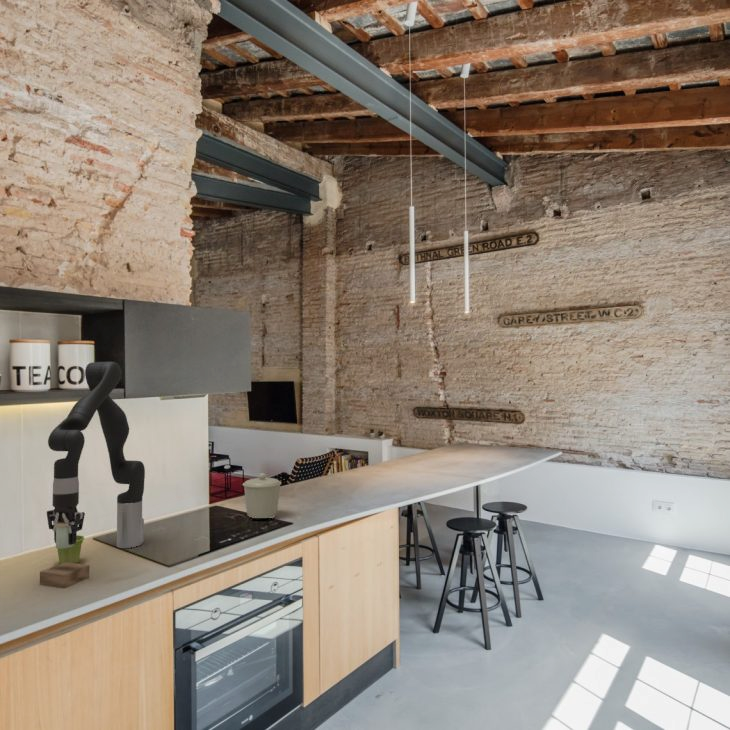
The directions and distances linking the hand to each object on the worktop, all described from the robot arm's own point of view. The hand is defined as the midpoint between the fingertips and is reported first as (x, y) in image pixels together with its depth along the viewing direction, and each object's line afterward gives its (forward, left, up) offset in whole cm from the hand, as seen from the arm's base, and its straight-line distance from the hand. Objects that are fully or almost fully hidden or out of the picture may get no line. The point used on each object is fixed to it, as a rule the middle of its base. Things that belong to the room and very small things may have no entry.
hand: (65, 543), depth 179 cm
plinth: (0, 0, -12) cm, 12 cm away
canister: (-92, +21, -12) cm, 95 cm away
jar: (0, 0, -1) cm, 1 cm away
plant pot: (-14, -13, -12) cm, 23 cm away
